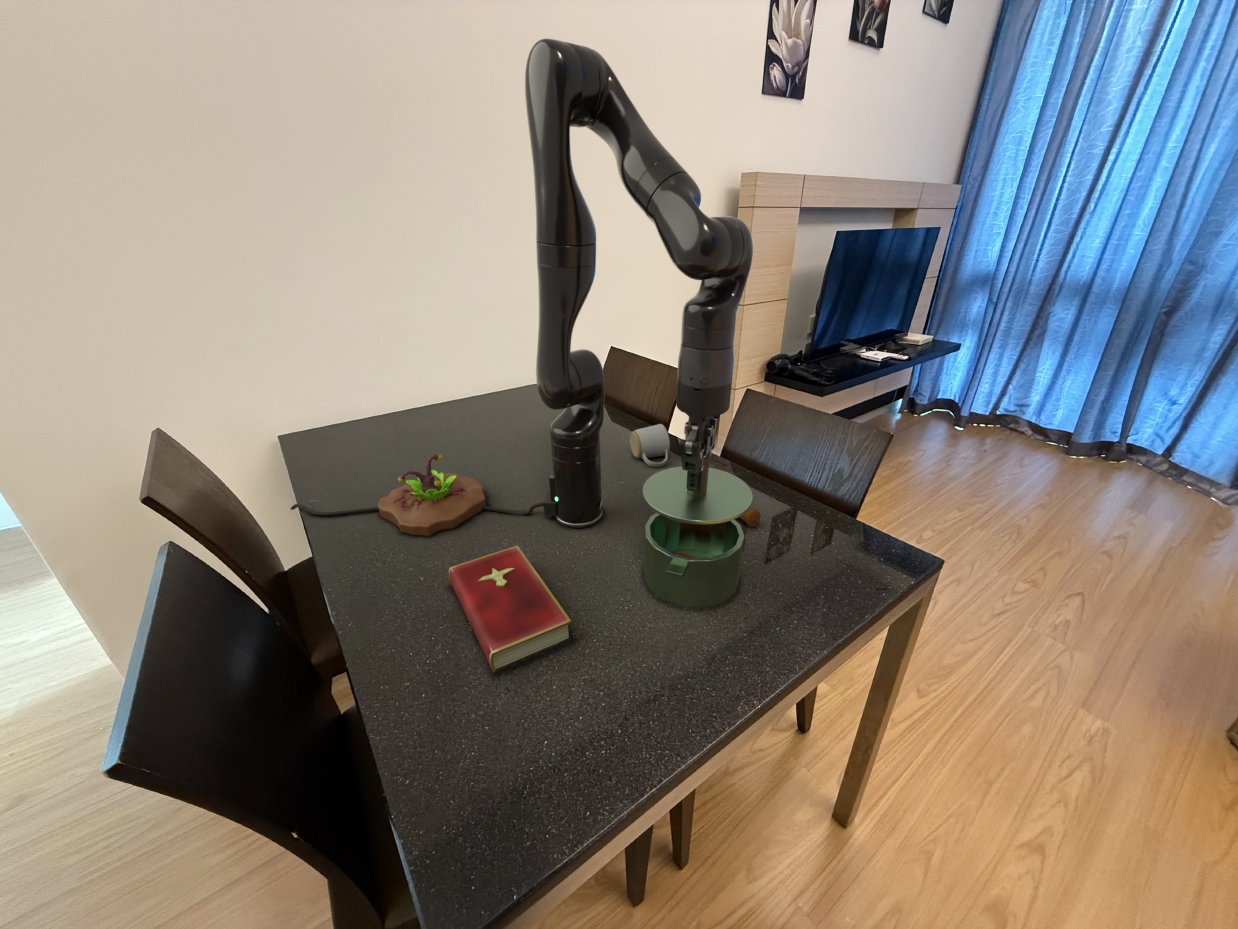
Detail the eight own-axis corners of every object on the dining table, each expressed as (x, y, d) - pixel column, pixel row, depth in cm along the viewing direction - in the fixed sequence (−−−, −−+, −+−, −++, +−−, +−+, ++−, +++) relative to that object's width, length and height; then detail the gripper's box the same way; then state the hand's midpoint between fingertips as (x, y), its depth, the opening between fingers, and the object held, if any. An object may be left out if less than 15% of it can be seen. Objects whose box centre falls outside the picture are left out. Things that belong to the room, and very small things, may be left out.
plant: (504, 505, 110) (498, 456, 105) (417, 546, 97) (405, 493, 92) (452, 474, 122) (445, 429, 117) (369, 507, 109) (356, 459, 104)
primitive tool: (680, 491, 114) (681, 477, 113) (698, 483, 117) (699, 469, 116) (749, 531, 101) (751, 515, 99) (767, 521, 104) (770, 506, 102)
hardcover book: (492, 676, 71) (488, 653, 69) (450, 587, 87) (446, 566, 85) (572, 641, 76) (571, 619, 74) (519, 563, 92) (517, 544, 90)
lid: (626, 513, 78) (626, 470, 74) (662, 465, 91) (663, 427, 88) (740, 538, 72) (745, 493, 69) (760, 482, 86) (765, 442, 82)
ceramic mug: (627, 452, 132) (628, 423, 128) (657, 446, 134) (658, 419, 131) (644, 471, 123) (645, 441, 119) (675, 465, 125) (677, 436, 122)
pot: (624, 605, 83) (624, 556, 79) (665, 534, 100) (667, 490, 96) (722, 633, 78) (728, 582, 73) (748, 553, 95) (754, 508, 90)
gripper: (692, 360, 80) (686, 461, 88) (662, 388, 68) (659, 502, 76) (741, 365, 77) (731, 469, 85) (719, 395, 66) (709, 512, 74)
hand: (697, 484), depth 81 cm, fingers closed on lid, 3 cm apart
